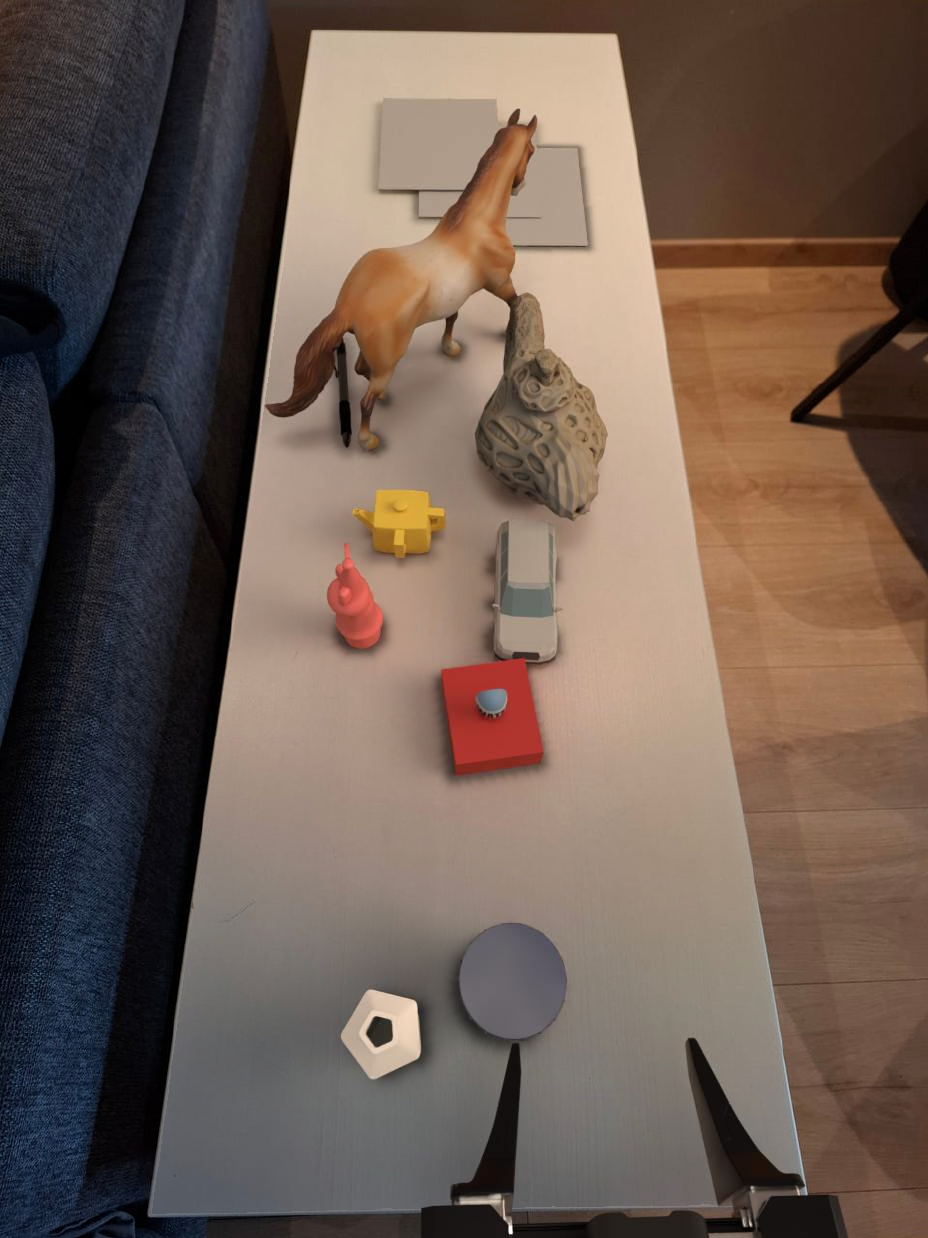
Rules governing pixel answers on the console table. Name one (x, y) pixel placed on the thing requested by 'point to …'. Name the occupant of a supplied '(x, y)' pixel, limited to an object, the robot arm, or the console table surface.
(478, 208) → the horse figurine
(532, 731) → the red box
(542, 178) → the paper stack
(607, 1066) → the console table surface
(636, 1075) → the console table surface
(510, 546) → the toy car
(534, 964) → the jar lid
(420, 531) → the teapot
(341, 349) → the pen
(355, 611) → the figurine
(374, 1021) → the white pentagonal vase
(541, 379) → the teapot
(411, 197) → the console table surface
